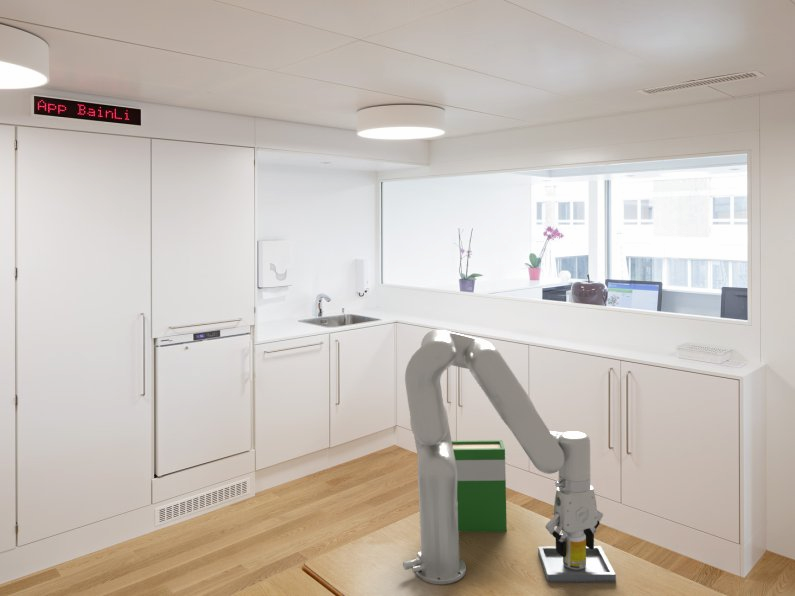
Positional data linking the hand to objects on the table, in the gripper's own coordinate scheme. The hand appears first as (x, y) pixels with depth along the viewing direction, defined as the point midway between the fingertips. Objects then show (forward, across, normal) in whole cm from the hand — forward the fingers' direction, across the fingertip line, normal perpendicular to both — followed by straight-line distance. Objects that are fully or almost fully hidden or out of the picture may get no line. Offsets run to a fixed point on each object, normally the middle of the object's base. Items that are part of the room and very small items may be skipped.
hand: (575, 550), depth 147 cm
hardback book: (+5, -12, +30) cm, 33 cm away
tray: (+5, 0, 0) cm, 5 cm away
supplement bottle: (+4, 0, 0) cm, 4 cm away
